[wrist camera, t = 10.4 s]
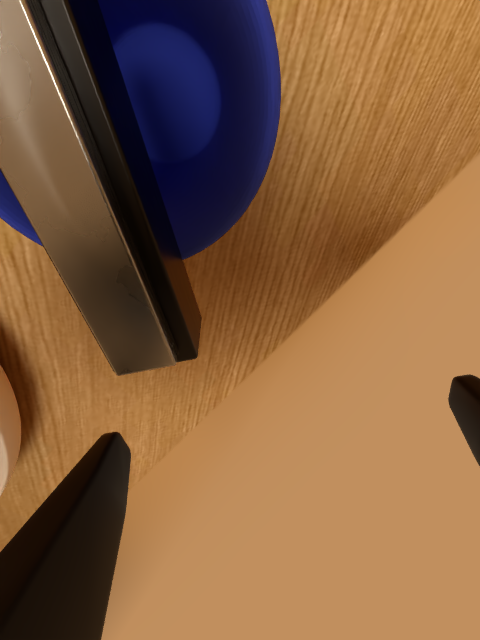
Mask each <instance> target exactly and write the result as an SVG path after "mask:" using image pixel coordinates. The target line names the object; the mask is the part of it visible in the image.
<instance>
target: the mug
mask: <svg viewBox="0 0 480 640" xmlns="http://www.w3.org/2000/svg"><path fill="white" fill-rule="evenodd" d="M98 3H99V6H100V9H101V12H102V15H103V18H104V21H105V24H106V27H107V30H108V33H109V36H110V40H111V43H112V46H113V49H114V52H115V55H116V58H117V61H118V64H119V67H120V70H121V73H122V76H123V79H124V82H125V85H126V88H127V92H128V95H129V98H130V101H131V104H132V107H133V110H134V113H135V116H136V119H137V122H138V125H139V128H140V131H141V134H142V137H143V140H144V143H145V147H146V150H147V153H148V156H149V159H150V162H151V165H152V168H153V171H154V174H155V177H156V180H157V183H158V186H159V189H160V192H161V195H162V199H163V202H164V205H165V208H166V211H167V214H168V217H169V220H170V223H171V226H172V229H173V232H174V235H175V238H176V241H177V244H178V247H179V250H180V254H181V257H182V260H184V259H186V258H188V257H191V256H193V255H195V254H197V253H198V252H200V251H202V250H204V249H205V248H207V247H208V246H210V245H211V244H213V243H214V242H215V241H217V240H218V239H219V238H220V237H222V236H223V235H224V234H225V233H226V232H227V231H228V230H229V229H230V228H231V227H232V226H233V225H234V224H235V223H236V222H237V221H238V220H239V218H240V217H241V216H242V215H243V213H244V212H245V211H246V209H247V208H248V206H249V205H250V203H251V202H252V200H253V198H254V197H255V195H256V193H257V191H258V189H259V187H260V185H261V183H262V181H263V179H264V177H265V174H266V172H267V169H268V166H269V163H270V160H271V157H272V154H273V150H274V146H275V142H276V137H277V130H278V124H279V117H280V102H281V77H280V65H279V55H278V48H277V43H276V37H275V32H274V27H273V23H272V19H271V16H270V12H269V8H268V5H267V1H266V0H98ZM0 218H1V219H3V220H4V221H5V222H6V223H8V224H9V225H10V226H11V227H13V228H14V229H16V230H17V231H19V232H20V233H22V234H23V235H25V236H26V237H28V238H29V239H31V240H33V241H34V242H36V243H38V244H39V245H41V246H43V245H42V243H41V241H40V239H39V238H38V236H37V234H36V232H35V230H34V229H33V227H32V225H31V223H30V222H29V220H28V218H27V216H26V215H25V213H24V211H23V209H22V207H21V206H20V204H19V202H18V200H17V199H16V197H15V195H14V193H13V191H12V190H11V188H10V186H9V184H8V183H7V181H6V179H5V177H4V176H3V174H2V172H1V170H0ZM43 247H44V246H43Z"/></svg>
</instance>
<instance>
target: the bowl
mask: <svg viewBox="0 0 480 640" xmlns="http://www.w3.org/2000/svg"><path fill="white" fill-rule="evenodd" d="M20 444H21V421H20V413H19V408H18V404H17V401H16V398H15V394H14V391H13V389H12V387H11V384H10V382H9V380H8V378H7V376H6V374H5V372H4V370H3V368H2V367H1V365H0V496H1V494H2V492H3V491H4V489H5V487H6V485H7V483H8V481H9V480H10V478H11V476H12V473H13V471H14V468H15V466H16V463H17V459H18V455H19V451H20Z"/></svg>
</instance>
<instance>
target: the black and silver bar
mask: <svg viewBox="0 0 480 640" xmlns="http://www.w3.org/2000/svg"><path fill="white" fill-rule="evenodd" d="M0 170H1V172H2V174H3V176H4V177H5V179H6V181H7V183H8V184H9V186H10V188H11V190H12V191H13V193H14V195H15V197H16V199H17V200H18V202H19V204H20V206H21V207H22V209H23V211H24V213H25V215H26V216H27V218H28V220H29V222H30V223H31V225H32V227H33V229H34V230H35V232H36V234H37V236H38V238H39V239H40V241H41V243H42V245H43V246H44V248H45V250H46V252H47V254H48V255H49V257H50V259H51V261H52V262H53V264H54V266H55V268H56V270H57V271H58V273H59V275H60V277H61V278H62V280H63V282H64V284H65V285H66V287H67V289H68V291H69V293H70V294H71V296H72V298H73V300H74V301H75V303H76V305H77V307H78V309H79V310H80V312H81V314H82V316H83V317H84V319H85V321H86V323H87V325H88V326H89V328H90V330H91V332H92V333H93V335H94V337H95V339H96V340H97V342H98V344H99V346H100V348H101V349H102V351H103V353H104V355H105V356H106V358H107V360H108V362H109V364H110V365H111V367H112V369H113V371H114V372H115V373H116V375H118V376H120V375H125V374H131V373H136V372H142V371H147V370H153V369H158V368H164V367H169V366H174V365H176V362H181V361H186V360H192V359H196V358H197V356H198V347H199V338H200V328H201V319H202V318H201V315H200V312H199V309H198V306H197V302H196V299H195V296H194V293H193V290H192V287H191V284H190V281H189V278H188V275H187V272H186V269H185V266H184V263H183V260H182V257H181V254H180V250H179V247H178V244H177V241H176V238H175V235H174V232H173V229H172V226H171V223H170V220H169V217H168V214H167V211H166V208H165V205H164V202H163V199H162V195H161V192H160V189H159V186H158V183H157V180H156V177H155V174H154V171H153V168H152V165H151V162H150V159H149V156H148V153H147V150H146V147H145V143H144V140H143V137H142V134H141V131H140V128H139V125H138V122H137V119H136V116H135V113H134V110H133V107H132V104H131V101H130V98H129V95H128V92H127V88H126V85H125V82H124V79H123V76H122V73H121V70H120V67H119V64H118V61H117V58H116V55H115V52H114V49H113V46H112V43H111V40H110V36H109V33H108V30H107V27H106V24H105V21H104V18H103V15H102V12H101V9H100V6H99V3H98V0H0Z"/></svg>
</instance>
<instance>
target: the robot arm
mask: <svg viewBox="0 0 480 640" xmlns="http://www.w3.org/2000/svg"><path fill="white" fill-rule="evenodd" d="M449 405H450V408H451V410H452V412H453V414H454V416H455V418H456V420H457V422H458V424H459V426H460V428H461V430H462V433H463V434H464V436H465V439H466V441H467V443H468V445H469V447H470V449H471V451H472V453H473V455H474V457H475V459H476V460H477V462H478V464H479V466H480V379H479V378H478V377H476V376H473V375H463V376H457V377H454V378H453V380H452V384H451V388H450V393H449ZM130 461H131V453H130V449H129V447H128V446H127V444H126V442H125V441H124V439H123V438H122V436H121V434H120V433H118V432H112V433H106V434H103V435H102V436H101V437H100V438H99V439H98V440H97V441H96V443H95V444H94V445H93V446H92V447H91V448H90V449H89V451H88V452H87V453H86V454H85V455H84V456H83V458H82V459H81V460H80V461H79V462H78V463H77V464H76V466H75V467H74V468H73V469H72V470H71V471H70V473H69V474H68V475H67V476H66V477H65V478H64V479H63V481H62V482H61V483H60V484H59V485H58V486H57V488H56V489H55V490H54V491H53V492H52V493H51V494H50V496H49V497H48V498H47V499H46V500H45V501H44V502H43V504H42V505H41V506H40V507H39V508H38V509H37V511H36V512H35V513H34V514H33V515H32V516H31V517H30V519H29V520H28V521H27V522H26V523H25V524H24V526H23V527H22V528H21V529H20V530H19V531H18V532H17V534H16V535H15V536H14V537H13V538H12V539H11V541H10V542H9V543H8V544H7V545H6V546H5V547H4V549H3V550H2V551H1V552H0V640H101V637H102V632H103V626H104V621H105V615H106V611H107V606H108V600H109V596H110V591H111V585H112V580H113V575H114V570H115V565H116V560H117V555H118V549H119V545H120V540H121V535H122V529H123V524H124V519H125V513H126V505H127V494H128V483H129V472H130Z"/></svg>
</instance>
